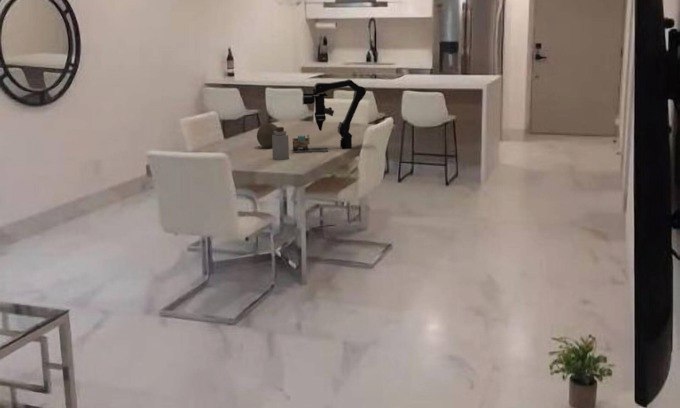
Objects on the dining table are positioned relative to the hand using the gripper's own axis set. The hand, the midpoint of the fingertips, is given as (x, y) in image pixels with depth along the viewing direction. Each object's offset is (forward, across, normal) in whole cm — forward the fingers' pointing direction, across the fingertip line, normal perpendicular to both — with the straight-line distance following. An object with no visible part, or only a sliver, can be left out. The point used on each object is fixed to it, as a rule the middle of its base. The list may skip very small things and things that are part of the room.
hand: (320, 129), depth 458 cm
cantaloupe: (+12, +10, +32) cm, 36 cm away
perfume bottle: (+12, -28, +24) cm, 39 cm away
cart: (+11, -6, +12) cm, 17 cm away
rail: (+12, -6, +6) cm, 15 cm away
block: (+7, -6, +12) cm, 15 cm away
